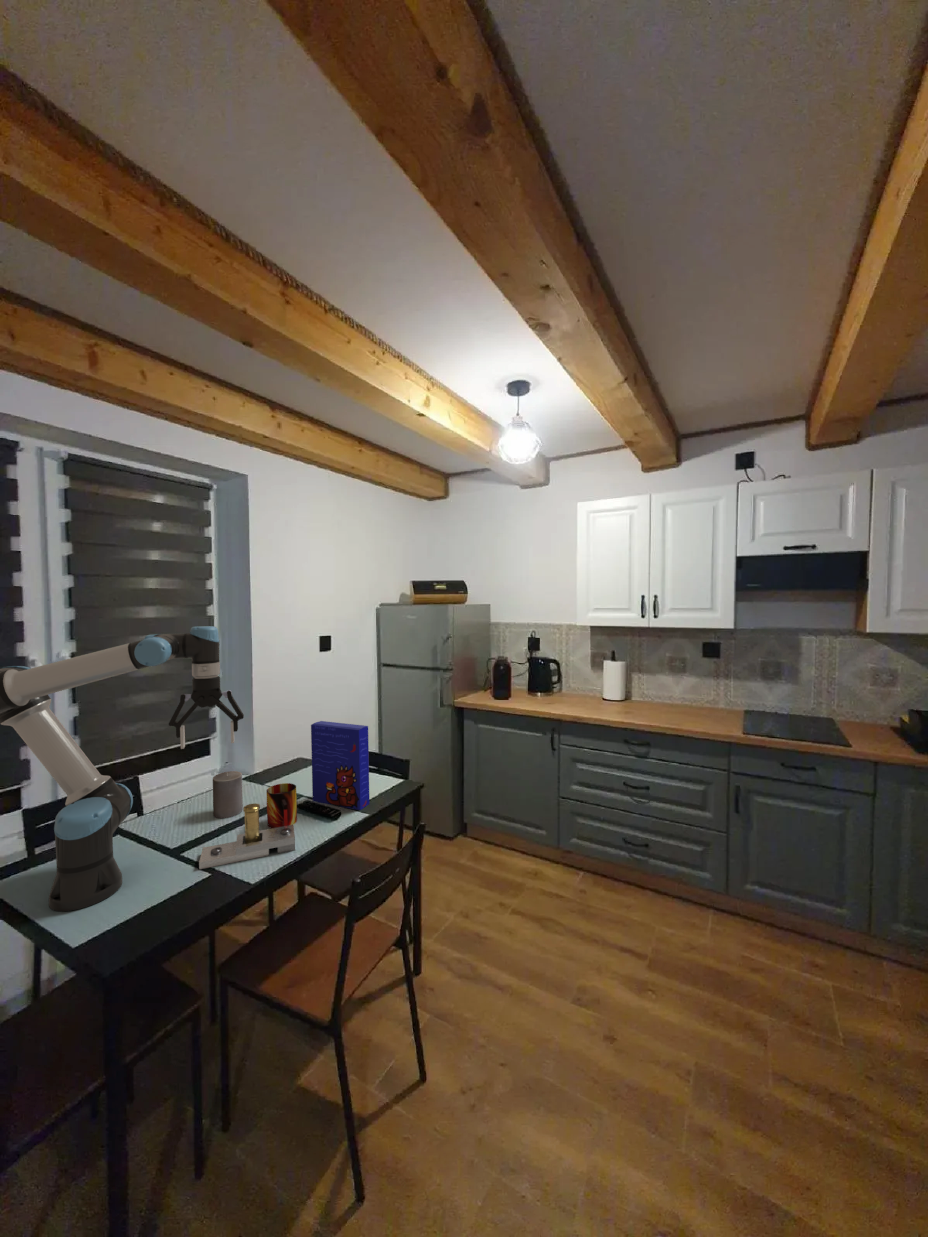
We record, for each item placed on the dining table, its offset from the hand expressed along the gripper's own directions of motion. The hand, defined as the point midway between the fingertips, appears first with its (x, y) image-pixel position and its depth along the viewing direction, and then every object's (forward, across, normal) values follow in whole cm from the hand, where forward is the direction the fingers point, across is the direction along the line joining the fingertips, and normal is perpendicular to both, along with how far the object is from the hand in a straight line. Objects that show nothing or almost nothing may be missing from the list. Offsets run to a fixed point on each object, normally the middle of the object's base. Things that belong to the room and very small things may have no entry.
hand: (208, 744), depth 145 cm
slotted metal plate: (+33, +12, -7) cm, 36 cm away
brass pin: (+33, +12, -7) cm, 36 cm away
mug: (+33, +22, +8) cm, 40 cm away
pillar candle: (+33, +3, +26) cm, 42 cm away
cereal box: (+33, +42, +18) cm, 56 cm away
